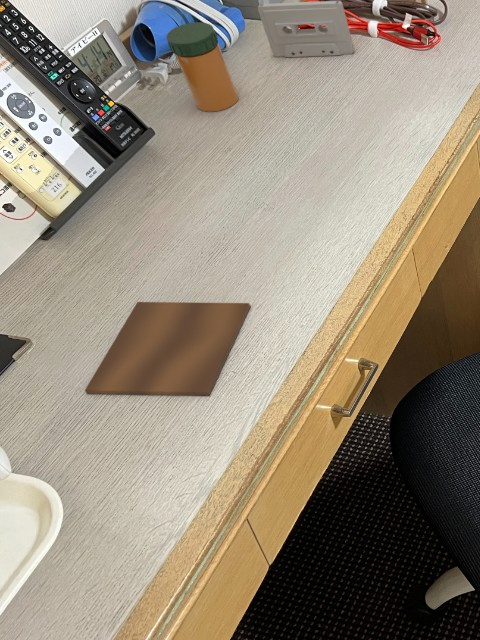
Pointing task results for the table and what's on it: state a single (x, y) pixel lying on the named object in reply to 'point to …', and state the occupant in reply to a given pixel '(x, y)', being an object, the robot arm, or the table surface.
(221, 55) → the jar
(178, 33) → the lid
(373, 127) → the table surface
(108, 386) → the coaster
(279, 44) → the cassette
